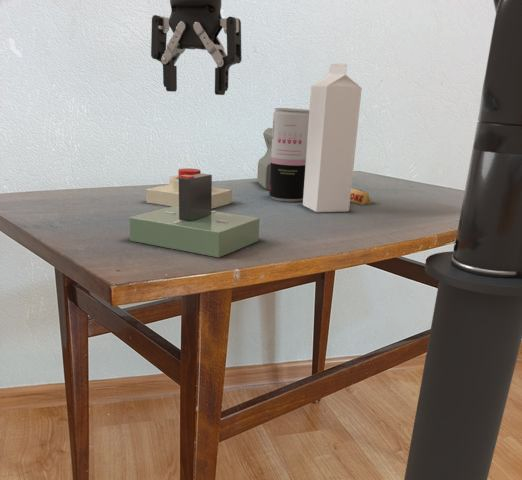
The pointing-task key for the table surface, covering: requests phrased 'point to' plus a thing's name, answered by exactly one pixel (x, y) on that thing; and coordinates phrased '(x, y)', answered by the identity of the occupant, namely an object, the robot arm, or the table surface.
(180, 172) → the power button
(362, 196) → the chocolate bar
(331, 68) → the milk
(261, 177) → the grey irregular figure
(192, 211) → the dark grey square slab
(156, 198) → the base
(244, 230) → the green flat block
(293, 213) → the table surface
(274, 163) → the beverage can
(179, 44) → the robot arm
